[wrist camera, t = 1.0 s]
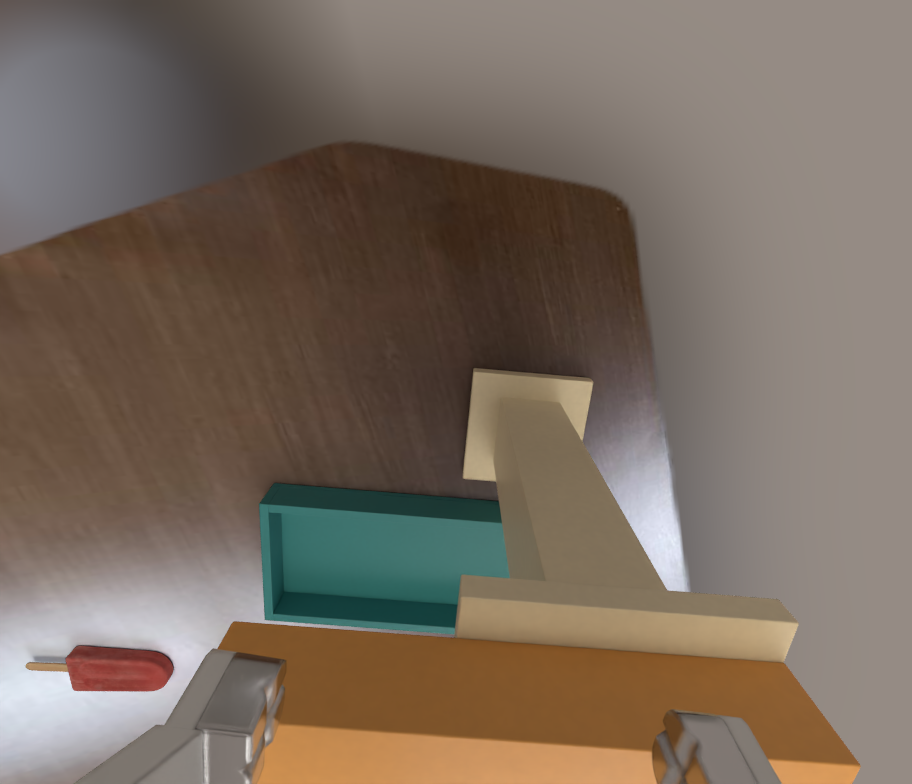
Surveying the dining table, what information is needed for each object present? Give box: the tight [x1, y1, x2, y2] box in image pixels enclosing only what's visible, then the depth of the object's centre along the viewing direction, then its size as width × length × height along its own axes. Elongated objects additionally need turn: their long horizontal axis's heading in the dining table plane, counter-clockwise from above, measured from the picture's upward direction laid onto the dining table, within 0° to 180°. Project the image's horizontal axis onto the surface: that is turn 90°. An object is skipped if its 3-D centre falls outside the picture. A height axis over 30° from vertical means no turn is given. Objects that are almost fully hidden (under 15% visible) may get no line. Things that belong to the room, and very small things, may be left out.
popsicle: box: [26, 646, 173, 691], centre depth 51 cm, size 4×2×15 cm
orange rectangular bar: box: [218, 621, 860, 784], centre depth 16 cm, size 20×4×4 cm, turn 85°
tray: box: [259, 483, 510, 634], centre depth 45 cm, size 27×13×4 cm, turn 85°
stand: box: [454, 368, 799, 663], centre depth 31 cm, size 12×10×26 cm
